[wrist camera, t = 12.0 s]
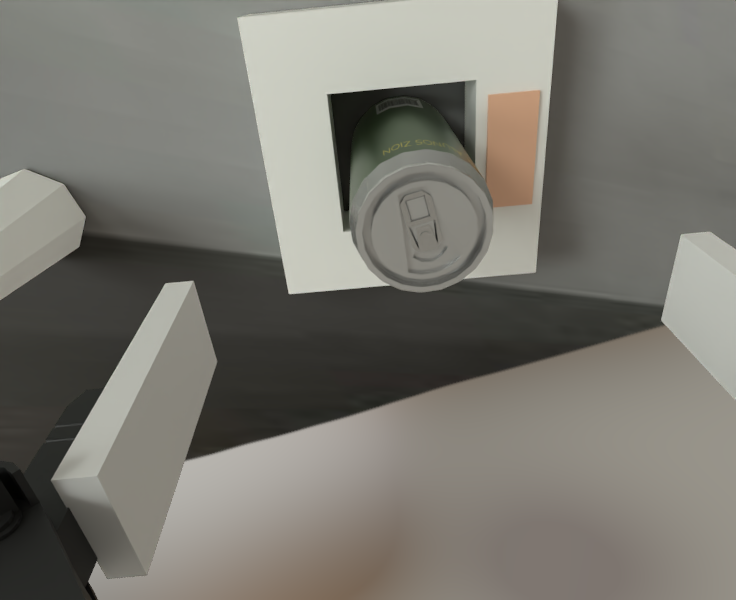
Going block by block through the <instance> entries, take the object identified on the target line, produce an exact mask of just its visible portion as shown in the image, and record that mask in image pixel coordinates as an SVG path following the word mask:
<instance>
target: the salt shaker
mask: <svg viewBox="0 0 736 600" xmlns="http://www.w3.org/2000/svg"><path fill="white" fill-rule="evenodd" d="M85 219H86V216H85V215H84V213H83V212H82V210H81V209H80V207H79V206H78V204H77V203H76V201H75V200H74V198H73V197H72V195H71V194H70V192H69V191H68V190H67V188H66V187H65V185H64V184H62V183H60V182H57V181H55V180H52V179H49V178H47V177H44V176H42V175H39V174H37V173H34V172H31V171H29V170H26V169H23V170H20V171H18V172H15V173H13V174H10V175H8V176H5V177H3V178H0V300H1V299H3V298H4V297H6V296H7V295H9V294H10V293H11V292H13V291H14V290H16V289H17V288H19V287H20V286H22V285H23V284H25V283H26V282H28V281H29V280H31V279H32V278H34V277H35V276H37V275H38V274H40V273H41V272H43V271H44V270H46V269H47V268H49V267H50V266H52V265H53V264H55V263H56V262H58V261H59V260H61V259H62V258H64V257H65V256H67V255H68V254H69V253H71V252H72V251H74V250H75V249H77V248H78V247H79V246H80V242H81V237H82V233H83V228H84V223H85Z"/></svg>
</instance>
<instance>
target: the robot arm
mask: <svg viewBox="0 0 736 600" xmlns="http://www.w3.org/2000/svg"><path fill="white" fill-rule="evenodd" d="M661 321H662V322H663V323H664V324H665V325H666V326H667V327H668V328H669V329H670V330H671V332H672V333H673V334H674V335H675V336H676V337H677V338H678V339H679V340H680V341H681V342H682V343H683V345H684V346H685V347H686V348H687V349H688V350H689V351H690V352H691V353H692V354H693V355H694V356H695V357H696V359H697V360H698V361H699V362H700V363H701V364H702V365H703V366H704V367H705V368H706V369H707V370H708V371H709V372H710V374H711V375H712V376H713V377H714V378H715V379H716V380H717V381H718V382H719V383H720V384H721V385H722V387H723V388H724V389H725V390H726V391H727V392H728V393H729V394H730V395H731V396H732V397H733V398H734V399H735V401H736V249H734V248H733V247H731V246H730V245H728V244H727V243H726V242H724V241H723V240H721V239H720V238H718V237H717V236H715V235H714V234H713V233H711V232H700V233H690V234H681V237H680V241H679V245H678V250H677V254H676V258H675V263H674V267H673V271H672V276H671V280H670V284H669V288H668V293H667V297H666V301H665V306H664V310H663V314H662V318H661ZM216 364H217V360H216V356H215V353H214V349H213V346H212V342H211V339H210V336H209V332H208V329H207V325H206V322H205V318H204V315H203V311H202V308H201V305H200V301H199V298H198V294H197V291H196V287H195V284H194V281H186V282H175V283H165V285H164V287H163V288H162V290H161V292H160V294H159V295H158V297H157V299H156V300H155V302H154V304H153V306H152V307H151V309H150V311H149V313H148V314H147V316H146V318H145V319H144V321H143V323H142V325H141V326H140V328H139V330H138V331H137V333H136V335H135V337H134V338H133V340H132V342H131V343H130V345H129V347H128V349H127V350H126V352H125V354H124V355H123V357H122V359H121V361H120V362H119V364H118V366H117V367H116V369H115V371H114V373H113V374H112V376H111V378H110V379H109V381H108V383H107V385H106V386H105V388H103V389H92V390H86V391H85V392H83V393H82V394H81V395H80V396H79V397H78V398H76V399H75V400H74V401H73V402H72V403H71V404H70V405H68V406H67V407H66V409H65V411H64V412H63V414H62V415H61V417H60V418H59V420H58V421H57V423H56V428H53V429H52V431H51V432H50V434H49V435H48V437H47V439H46V443H43V445H42V446H41V448H40V449H39V451H38V452H37V454H36V456H35V457H34V459H33V460H32V462H31V463H30V465H29V466H28V468H27V470H26V471H25V473H24V474H23V473H22V472H21V470H20V469H19V468H18V467H17V466H16V465H15V464H14V463H11V462H4V461H0V600H98V599H97V597H96V595H95V593H94V591H93V589H92V587H91V586H90V584H89V582H88V580H89V578H90V575H91V573H92V571H93V568H94V566H95V563H96V561H97V562H98V564H99V565H100V567H101V569H102V571H103V572H104V574H105V576H106V578H107V579H112V578H123V577H134V576H145V575H147V574H148V571H149V567H150V565H151V562H152V558H153V555H154V553H155V550H156V546H157V543H158V540H159V537H160V534H161V531H162V528H163V525H164V522H165V519H166V516H167V513H168V510H169V507H170V504H171V501H172V498H173V495H174V492H175V489H176V486H177V483H178V480H179V476H180V473H181V470H182V467H183V464H184V461H185V458H186V455H187V452H188V449H189V446H190V443H191V440H192V437H193V434H194V431H195V428H196V425H197V422H198V419H199V416H200V413H201V410H202V406H203V403H204V400H205V397H206V394H207V391H208V388H209V385H210V382H211V379H212V376H213V373H214V370H215V367H216Z"/></svg>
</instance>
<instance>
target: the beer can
mask: <svg viewBox="0 0 736 600" xmlns="http://www.w3.org/2000/svg"><path fill="white" fill-rule="evenodd" d="M493 222H494V220H493V199H492V197H491V194H490V192H489V189H488V187H487V184H486V182H485V180H484V178H483V177H482V175H481V174H480V172H479V171H478V169H477V168H476V166H475V165H474V163H473V162H472V160H471V158H470V157H469V155H468V154H467V152H466V151H465V149H464V148H463V146H462V145H461V143H460V142H459V140H458V139H457V137H456V136H455V134H454V133H453V131H452V130H451V128H450V127H449V125H448V123H447V122H446V120H445V119H444V118H443V116H442V115H441V114H440V113H439V112H438V111H437V110H436V109H435V107H434V106H432V105H430V104H428V103H427V102H425V101H423V100H421V99H420V98H414V97H408V96H398V97H392V98H387V99H385V100H383V101H381V102H379V103H377V104H375V105H373V106H372V107H371V108H370V109H369V110H368V111H367V112H366V113H365V114H364V115H363V116H362V117H361V118H360V120H359V122H358V124H357V126H356V128H355V130H354V132H353V138H352V145H351V168H350V209H349V223H350V229H351V235H352V240H353V243H354V245H355V247H356V249H357V250H358V252H359V254H360V256H361V258H362V259H363V261H364V262H365V264H366V266H367V267H368V269H369V270H370V271H371V272H372V273H374V274H375V275H376V276H377V277H378V278H379V279H380V280H381V281H382V282H384V283H387V284H389V285H391V286H393V287H395V288H398V289H400V290H405V291H413V292H420V293H421V292H428V291H435V290H441V289H444V288H446V287H448V286H451V285H453V284H455V283H458V282H460V281H461V280H462V279H464V278H465V277H466V276H467V275H469V274H470V273H471V272H472V271H473V270H475V269H476V268H477V266H478V265H479V263H480V262H481V260H482V259H483V257H484V256H485V255H486V253H487V252H488V248H489V245H490V242H491V239H492V235H493Z"/></svg>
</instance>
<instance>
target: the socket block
mask: <svg viewBox="0 0 736 600" xmlns="http://www.w3.org/2000/svg"><path fill="white" fill-rule="evenodd" d="M557 5H558V0H386V1H376V2H366V3H356V4H346V5H336V6H326V7H316V8H306V9H296V10H286V11H276V12H266V13H256V14H248V15H245V16H241V17H238V18H237V19H238V24H239V30H240V35H241V40H242V46H243V51H244V57H245V62H246V67H247V73H248V78H249V83H250V89H251V94H252V99H253V105H254V110H255V115H256V121H257V126H258V131H259V137H260V142H261V148H262V153H263V158H264V164H265V169H266V174H267V180H268V185H269V190H270V196H271V201H272V206H273V212H274V217H275V223H276V228H277V233H278V239H279V244H280V249H281V255H282V260H283V265H284V271H285V276H286V281H287V287H288V292H289V294H297V293H308V292H319V291H331V290H342V289H354V288H365V287H376V286H388V285H389V284H387V283H384V282H382V281H381V280H380V279H379V278H378V277H377V276H376V275H375V274H374V273H372V272H371V271H370V270H369V269H368V267H367V266H366V264H365V262H364V261H363V259H362V258H361V256H360V254H359V252H358V250H357V249H356V247H355V245H354V243H353V240H352V235H351V229H350V223H349V211H344V206H343V198H342V189H341V180H340V172H339V163H338V154H337V146H336V137H335V128H334V120H333V111H332V103H331V94H335V93H346V92H356V91H367V90H377V89H387V88H398V87H408V86H419V85H429V84H439V83H450V82H460V81H465V151H466V152H467V154H468V155H469V157H470V158H471V160H472V162H473V163H474V165H475V166H476V168H477V169H478V171H479V172H480V174H481V175H482V177H483V178H484V180H485V182H486V184H487V187H488V189H489V192H490V194H491V197H492V199H493V220H494V222H493V235H492V239H491V242H490V245H489V248H488V252H487V253H486V255H485V256H484V257H483V259H482V260H481V262H480V263H479V265H478V266H477V268H476V269H475V270H473V271H472V272H471V273H470V274H469V275H467V276H466V277H465V278H464V279H468V278H479V277H491V276H502V275H513V274H525V273H536V263H537V250H538V238H539V226H540V214H541V201H542V189H543V177H544V165H545V152H546V140H547V128H548V116H549V103H550V91H551V79H552V67H553V54H554V42H555V30H556V18H557Z"/></svg>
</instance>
